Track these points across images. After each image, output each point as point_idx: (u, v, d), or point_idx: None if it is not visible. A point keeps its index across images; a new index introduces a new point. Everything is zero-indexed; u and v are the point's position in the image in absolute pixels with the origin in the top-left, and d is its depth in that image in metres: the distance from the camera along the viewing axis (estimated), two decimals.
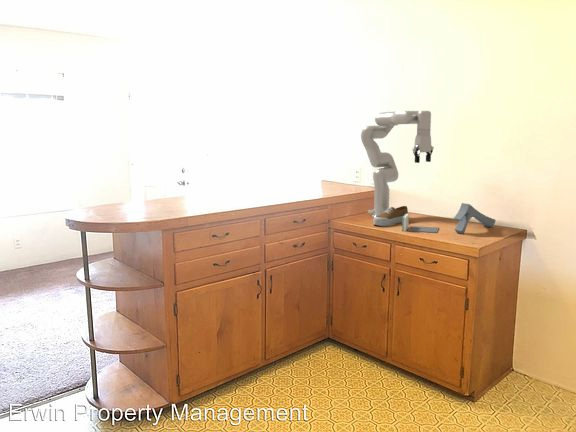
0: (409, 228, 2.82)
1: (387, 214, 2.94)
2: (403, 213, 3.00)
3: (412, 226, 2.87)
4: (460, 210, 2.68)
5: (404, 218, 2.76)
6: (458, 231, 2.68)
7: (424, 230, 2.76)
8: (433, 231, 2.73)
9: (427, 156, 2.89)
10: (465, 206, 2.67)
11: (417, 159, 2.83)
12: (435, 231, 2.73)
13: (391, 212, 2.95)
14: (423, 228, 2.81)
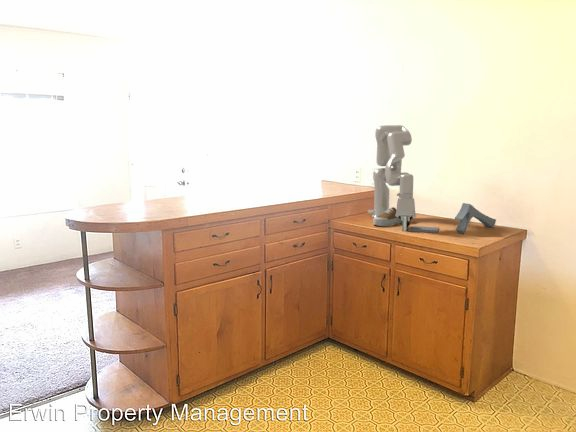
0: (409, 228, 2.82)
1: (387, 214, 2.93)
2: None
3: (412, 226, 2.87)
4: (461, 210, 2.68)
5: (404, 218, 2.75)
6: (459, 231, 2.68)
7: (424, 230, 2.76)
8: (433, 231, 2.73)
9: None
10: (466, 205, 2.67)
11: None
12: (435, 231, 2.73)
13: (392, 212, 2.94)
14: (423, 228, 2.81)
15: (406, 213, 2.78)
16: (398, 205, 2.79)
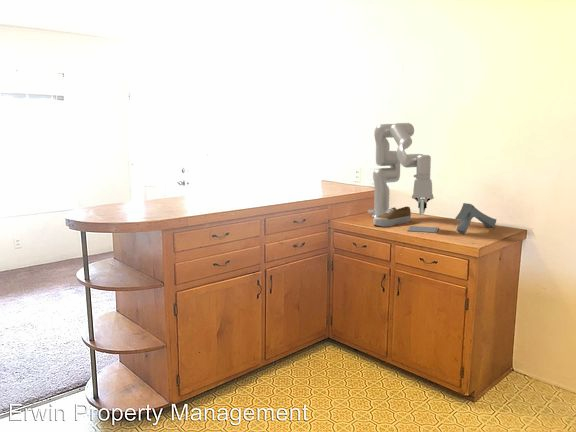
0: (409, 228, 2.82)
1: (387, 214, 2.93)
2: (405, 214, 2.98)
3: (412, 226, 2.87)
4: (462, 210, 2.69)
5: (421, 201, 2.71)
6: (460, 231, 2.68)
7: (424, 230, 2.76)
8: (433, 231, 2.73)
9: None
10: (466, 205, 2.68)
11: None
12: (435, 231, 2.73)
13: (392, 212, 2.94)
14: (423, 228, 2.81)
15: (423, 194, 2.73)
16: (415, 186, 2.74)
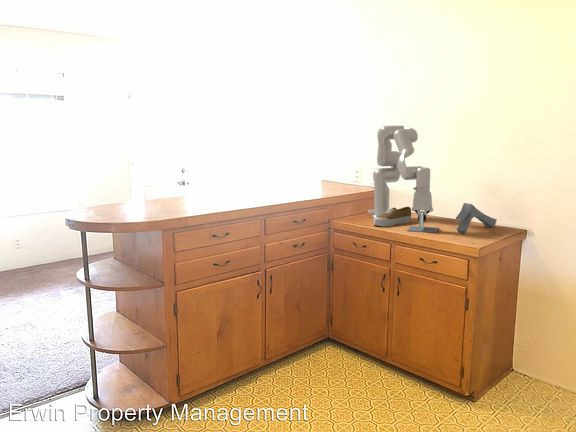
0: (409, 228, 2.82)
1: (387, 214, 2.92)
2: (405, 214, 2.98)
3: (412, 226, 2.87)
4: (462, 210, 2.69)
5: (421, 214, 2.73)
6: (460, 231, 2.68)
7: (424, 230, 2.76)
8: (433, 231, 2.73)
9: None
10: (467, 205, 2.68)
11: None
12: (435, 231, 2.73)
13: (392, 212, 2.93)
14: (423, 228, 2.81)
15: (423, 207, 2.75)
16: (415, 199, 2.76)
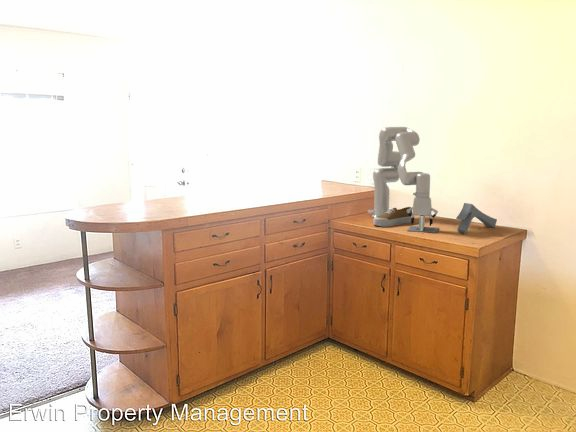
0: (409, 228, 2.82)
1: (388, 214, 2.92)
2: (406, 214, 2.97)
3: (412, 226, 2.87)
4: (462, 210, 2.69)
5: (421, 218, 2.73)
6: (461, 231, 2.68)
7: (424, 230, 2.76)
8: (433, 231, 2.73)
9: (413, 219, 2.80)
10: (467, 205, 2.68)
11: None
12: (435, 231, 2.73)
13: (392, 213, 2.93)
14: None
15: (423, 213, 2.75)
16: (414, 204, 2.76)
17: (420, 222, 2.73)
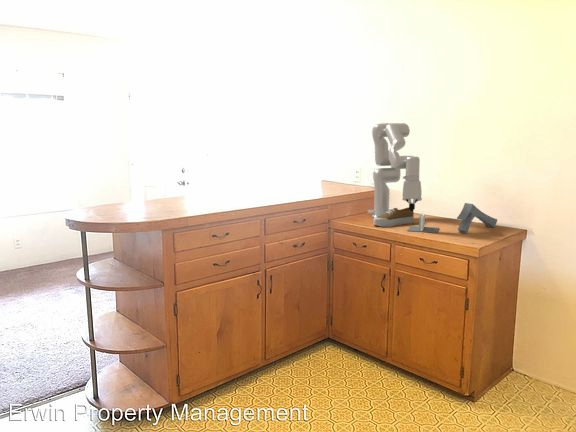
0: (409, 228, 2.82)
1: (388, 215, 2.91)
2: (407, 214, 2.96)
3: (412, 226, 2.87)
4: (463, 210, 2.69)
5: (421, 218, 2.73)
6: (461, 231, 2.68)
7: (424, 230, 2.76)
8: (433, 231, 2.73)
9: None
10: (468, 205, 2.68)
11: None
12: (435, 231, 2.73)
13: (393, 213, 2.92)
14: None
15: (412, 196, 2.75)
16: (404, 188, 2.77)
17: (420, 222, 2.73)
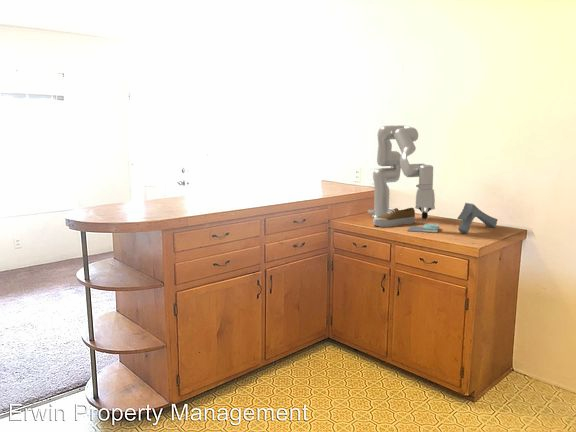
0: (409, 228, 2.82)
1: (388, 215, 2.91)
2: (408, 215, 2.95)
3: (412, 226, 2.87)
4: (464, 210, 2.69)
5: (436, 230, 2.71)
6: (462, 231, 2.68)
7: None
8: None
9: None
10: (468, 205, 2.68)
11: None
12: None
13: (393, 213, 2.92)
14: None
15: (426, 204, 2.74)
16: (417, 196, 2.75)
17: (431, 229, 2.72)
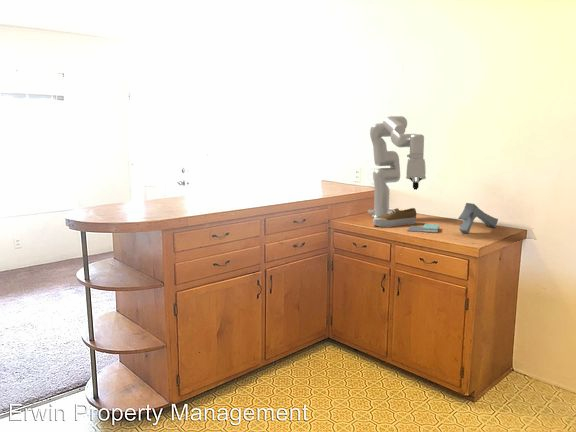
0: (409, 228, 2.82)
1: (388, 215, 2.91)
2: (408, 215, 2.93)
3: (412, 226, 2.87)
4: (465, 210, 2.69)
5: (436, 230, 2.71)
6: (463, 231, 2.69)
7: None
8: None
9: (415, 183, 2.76)
10: (469, 205, 2.68)
11: None
12: None
13: (393, 213, 2.91)
14: None
15: (416, 174, 2.73)
16: (408, 166, 2.74)
17: (431, 229, 2.72)
